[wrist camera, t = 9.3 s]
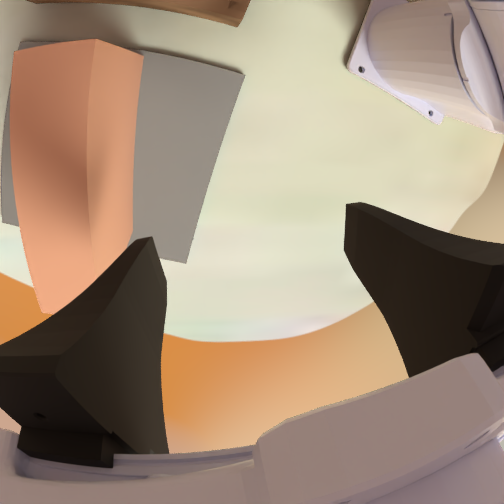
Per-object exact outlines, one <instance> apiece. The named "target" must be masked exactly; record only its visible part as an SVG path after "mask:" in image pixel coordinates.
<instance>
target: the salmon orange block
mask: <svg viewBox="0 0 504 504" xmlns="http://www.w3.org/2000/svg"><path fill="white" fill-rule="evenodd" d="M143 59H144V56H142V55H140V54H137V53H135V52H132V51H129V50H127V49H124V48H121V47H119V46H116V45H113V44H110V43H107V42H104V41H102V40H99V39H87V40H77V41H69V42H62V43H55V44H49V45H43V46H37V47H32V48H27V49H23V50H18V51H14V58H13V66H12V77H11V92H10V151H11V166H12V177H13V186H14V195H15V202H16V209H17V215H18V221H19V226H20V232H21V237H22V242H23V246H24V251H25V255H26V259H27V264H28V268H29V271H30V275H31V279H32V282H33V286H34V289H35V293H36V296H37V299H38V302H39V306H40V308H41V311H42V313H49V314H55V313H56V312H58V311H59V310H60V309H62V308H63V307H65V306H66V305H67V304H69V303H70V302H71V301H72V300H74V299H75V298H76V297H77V296H78V295H80V294H81V293H82V292H83V291H84V290H85V289H87V288H88V287H89V286H90V285H91V284H92V283H93V282H94V281H95V280H96V279H97V278H98V277H99V276H100V275H101V274H102V273H103V272H104V271H105V270H106V269H107V268H108V267H109V266H110V265H111V264H112V263H113V262H114V261H115V260H116V259H117V258H118V257H119V256H120V255H121V254H122V253H123V252H124V250H125V249H126V248H127V245H128V243H129V240H130V237H131V235H132V232H133V168H134V147H135V132H136V119H137V108H138V98H139V89H140V81H141V73H142V66H143Z"/></svg>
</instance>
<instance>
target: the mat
mask: <svg viewBox="0 0 504 504" xmlns="http://www.w3.org/2000/svg"><path fill="white" fill-rule="evenodd" d="M55 43H62V42H20V45H19V49H18V50H23V49H27V48H32V47H37V46H43V45H49V44H55ZM121 48H123V47H121ZM124 49H127V50H129V51H132V52H135V53H137V54H140V55H142V56H144V59H143V66H142V73H141V81H140V89H139V98H138V108H137V119H136V132H135V147H134V168H133V232H132V235H131V237H130V240H129V243H128V245H127V247H128V246H129V245H130V244H132V243H133V242H134V241H135V240H136V239H140V238H145V237H150V236H152V237H153V240H154V243H155V247H156V250H157V253H158V256H159V258H161V259H166V260H171V261H176V262H181V263H186V262H187V259H188V255H189V251H190V247H191V244H192V240H193V236H194V233H195V229H196V226H197V222H198V219H199V215H200V212H201V208H202V205H203V202H204V198H205V195H206V191H207V188H208V185H209V182H210V178H211V175H212V172H213V169H214V166H215V162H216V159H217V156H218V153H219V150H220V147H221V144H222V141H223V138H224V135H225V132H226V129H227V126H228V123H229V120H230V117H231V114H232V111H233V108H234V105H235V103H236V100H237V97H238V94H239V91H240V89H241V86H242V83H243V80H244V78H245V75H243V74H240V73H237V72H233V71H230V70H227V69H223V68H220V67H216V66H212V65H208V64H205V63H201V62H197V61H192V60H188V59H184V58H179V57H175V56H170V55H165V54H160V53H155V52H149V51H143V50H137V49H130V48H124ZM10 92H11V84H10V90H9V95H8V102H7V108H6V116H5V124H4V134H3V147H2V166H1V203H2V223H6V224H10V225H15V226H19V221H18V215H17V209H16V202H15V195H14V186H13V177H12V166H11V151H10ZM19 227H20V226H19Z"/></svg>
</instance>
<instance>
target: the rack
mask: <svg viewBox="0 0 504 504" xmlns="http://www.w3.org/2000/svg"><path fill="white" fill-rule="evenodd" d="M27 1H30V2H33V3H36V4H38V3H59V2H86V3H108V4H120V5H130V6H139V7H146V8H153V9H160V10H166V11H171V12H177V13H182V14H187V15H191V16H196V17H200V18H205V19H209V20H213V21H216V22H220V23H224V24H228V25H231V26H234V27H238V25H239V24H240V23H241V21H242V19H243V17H244V15H245V12H246V10H247V7H248V5H249V3H250V0H27Z"/></svg>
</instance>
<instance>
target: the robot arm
mask: <svg viewBox="0 0 504 504" xmlns="http://www.w3.org/2000/svg"><path fill="white" fill-rule="evenodd" d="M359 66H360V67H361V68H362V72H361V73H360V72H359V70H358V68H359ZM347 69H348V70H349V71H350V72H351V73H353V74H355V75H357V76H359V77H361V78H362V79H364V80H366V81H368V82H370V83H372V84H373V85H375V86H377V87H379V88H380V89H382V90H384V91H385V92H387V93H389V94H390V95H392V96H394V97H395V98H397V99H399V100H400V101H402V102H403V103H405V104H406V105H408V106H410V107H411V108H413V109H414V110H416V111H417V112H419V113H420V114H421V115H423V116H424V117H426V118H427V119H429V120H430V121H431V122H433V123H435V124H437V125H439V124H441V122H442V120H443V118H444V116H447V117H451V118H454V119H457V120H460V121H463V122H465V123H468V124H471V125H474V126H477V127H479V128H482V129H485V130H487V131H490V132H493V133H499V134H501V133H502V134H504V0H421V1H415V2H410V3H409V2H408V1H407V0H371V2H370V5H369V7H368V10H367V13H366V15H365V18H364V21H363V23H362V26H361V28H360V31H359V34H358V36H357V39H356V42H355V44H354V47H353V49H352V52H351V54H350V57H349V60H348V62H347ZM429 111H430V115H429ZM344 252H345V254H346V256H347V258H348V260H349V262H350V264H351V266H352V268H353V270H354V272H355V273H356V275H357V276H358V278H359V279H360V281H361V282H362V284H363V285H364V287H365V288H366V290H367V291H368V293H369V294H370V296H371V297H372V299H373V300H374V302H375V303H376V305H377V306H378V308H379V309H380V311H381V313H382V314H383V316H384V318H385V320H386V322H387V324H388V326H389V328H390V330H391V332H392V334H393V337H394V339H395V341H396V344H397V346H398V348H399V351H400V354H401V356H402V358H403V361H404V364H405V367H406V370H407V373H408V376H409V378H408V379H406V380H403V381H400V382H397V383H395V384H392V385H389V386H387V387H384V388H381V389H378V390H375V391H372V392H369V393H366V394H363V395H360V396H357V397H354V398H351V399H348V400H344V401H341V402H337V403H334V404H330V405H326V406H323V407H319V408H317V409H314V410H311V411H309V412H306V413H303V414H300V415H297V416H294V417H291V418H288V419H286V420H284V421H283V422H281V423H279V424H278V425H276V426H275V427H273V428H271V429H270V430H268V431H266V432H265V433H263V434H262V435H261V436H260V437H259V439H258V440H257V443H256V445H250V446H244V447H237V448H230V449H222V450H213V451H204V452H192V453H178V454H177V453H176V454H169V449H168V443H167V437H166V430H165V422H164V414H163V403H162V388H161V351H162V341H163V333H164V324H165V316H166V307H167V281H166V278H165V275H164V272H163V269H162V266H161V262H160V259H159V256H158V253H157V250H156V247H155V243H154V240H153V237H152V236H150V237H145V238H140V239H136V240H135V241H134V242H133V243H132V244H130V245H129V246H128V247H127V248H126V249H125V250H124V252H123V253H122V254H121V255H120V256H119V257H118V258H117V259H116V260H115V261H114V262H113V263H112V264H111V265H110V266H109V267H108V268H107V269H106V270H105V271H104V272H103V273H102V274H101V275H100V276H99V277H98V278H97V279H96V280H95V281H94V282H93V283H92V284H91V285H90V286H89V287H88V288H87V289H85V290H84V291H83V292H82V293H81V294H80V295H78V296H77V297H76V298H75V299H74V300H72V301H71V302H70V303H69V304H67V305H66V306H65V307H63V308H62V309H60V310H59V311H58V312H56V313H55V314H54V315H52V316H51V317H49V318H48V319H46V320H45V321H43V322H42V323H40V324H39V325H37V326H36V327H34V328H32V329H30V330H29V331H27V332H25V333H23V334H21V335H20V336H18V337H16V338H14V339H12V340H10V341H8V342H6V343H4V344H2V345H0V408H1V409H2V410H4V411H5V412H6V413H7V414H8V415H9V416H10V417H11V418H12V419H14V420H15V421H16V422H17V423H18V424H19V425H21V426H22V427H21V431H20V435H19V434H17V433H15V432H13V431H10V430H7V429H1V428H0V504H504V451H503V449H502V448H501V446H500V444H499V442H501V441H502V440H503V439H504V244H500V243H493V242H486V241H480V240H475V239H470V238H466V237H462V236H457V235H453V234H450V233H447V232H443V231H440V230H437V229H434V228H431V227H428V226H425V225H422V224H419V223H417V222H414V221H411V220H409V219H406V218H404V217H401V216H399V215H396V214H394V213H391V212H389V211H386V210H384V209H381V208H378V207H376V206H373V205H370V204H366V203H362V202H358V203H350V204H346V219H345V238H344Z"/></svg>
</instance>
